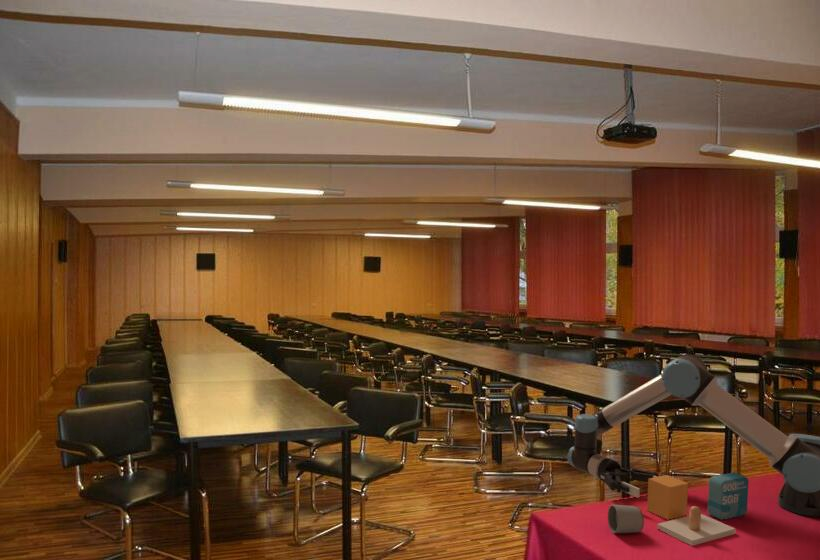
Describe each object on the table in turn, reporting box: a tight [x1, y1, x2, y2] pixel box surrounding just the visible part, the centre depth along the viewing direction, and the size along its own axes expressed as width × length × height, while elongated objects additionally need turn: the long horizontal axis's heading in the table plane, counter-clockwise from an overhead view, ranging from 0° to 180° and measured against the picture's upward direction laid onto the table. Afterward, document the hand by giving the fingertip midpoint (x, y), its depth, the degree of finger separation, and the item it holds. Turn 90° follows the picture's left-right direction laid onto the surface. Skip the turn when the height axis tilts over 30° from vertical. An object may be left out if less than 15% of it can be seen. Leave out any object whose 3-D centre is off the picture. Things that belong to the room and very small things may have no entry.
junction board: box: [656, 505, 736, 547], centre depth 195 cm, size 18×12×8 cm, turn 119°
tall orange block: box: [646, 474, 689, 521], centre depth 208 cm, size 8×8×10 cm
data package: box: [707, 472, 750, 521], centre depth 208 cm, size 12×4×12 cm, turn 115°
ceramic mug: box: [607, 504, 645, 534], centre depth 196 cm, size 11×8×8 cm
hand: (654, 489), depth 212 cm, fingers open, 13 cm apart
